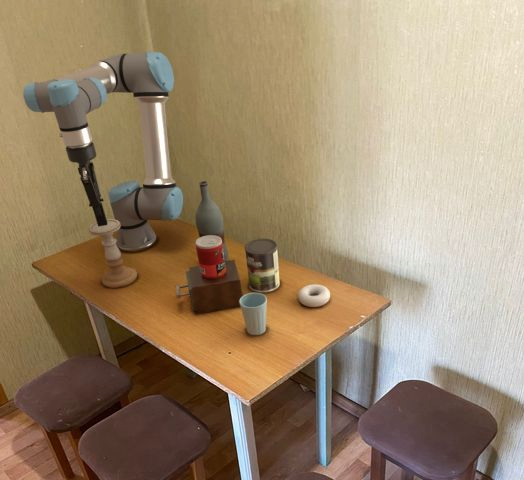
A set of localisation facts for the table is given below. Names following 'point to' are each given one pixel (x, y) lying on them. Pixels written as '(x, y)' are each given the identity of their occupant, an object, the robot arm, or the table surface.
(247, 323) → the cup
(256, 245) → the coffee can
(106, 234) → the candle holder
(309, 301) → the donut
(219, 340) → the table surface
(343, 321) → the table surface
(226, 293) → the cabinet
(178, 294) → the drawer
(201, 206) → the bottle
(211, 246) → the canned food
